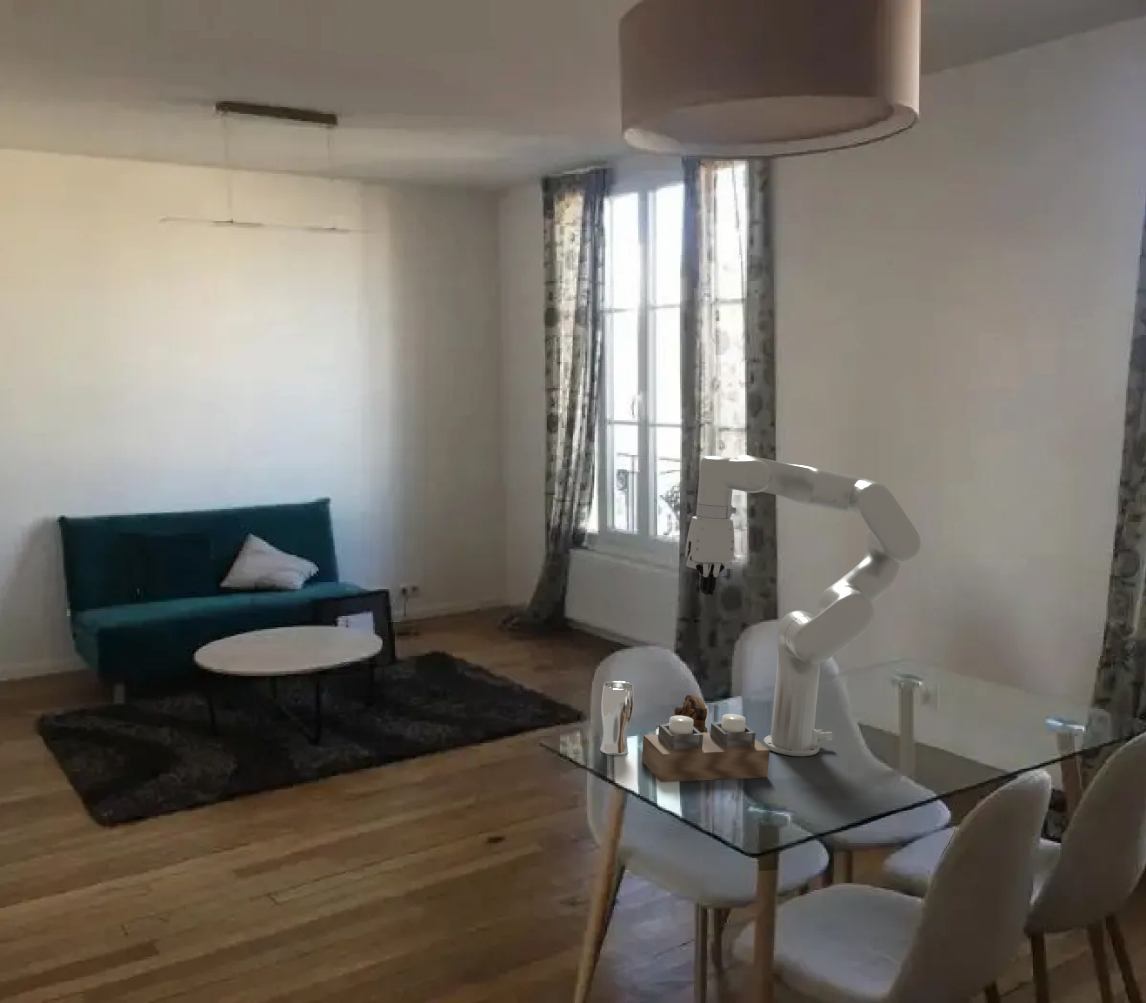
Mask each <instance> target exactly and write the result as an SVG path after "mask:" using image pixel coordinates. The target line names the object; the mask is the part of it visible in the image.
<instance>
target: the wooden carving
mask: <svg viewBox="0 0 1146 1003" xmlns="http://www.w3.org/2000/svg"><path fill="white" fill-rule="evenodd" d="M673 716H687V717H690V718H692V719H693V720H694V721H693V726H694V727H695V728H696V729H697V730H698V731H699V732H701V733H708V728H707V727H706V721H707V716H708V709H707V707H706V705H705V703H704V700H703V699H702V697H699V696H696V695H694V694H687V695H686V696H685V698H684V701H683V703H682V707H681V706H676V707H675V708H674V715H673Z"/></svg>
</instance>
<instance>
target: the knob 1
mask: <svg viewBox="0 0 1146 1003" xmlns="http://www.w3.org/2000/svg"><path fill="white" fill-rule="evenodd" d="M693 721H694V720H693V719H692V718H690V717H687V716H674V715H673V716H670V717H669V731H670V732H671V733H672V734H693Z"/></svg>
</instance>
